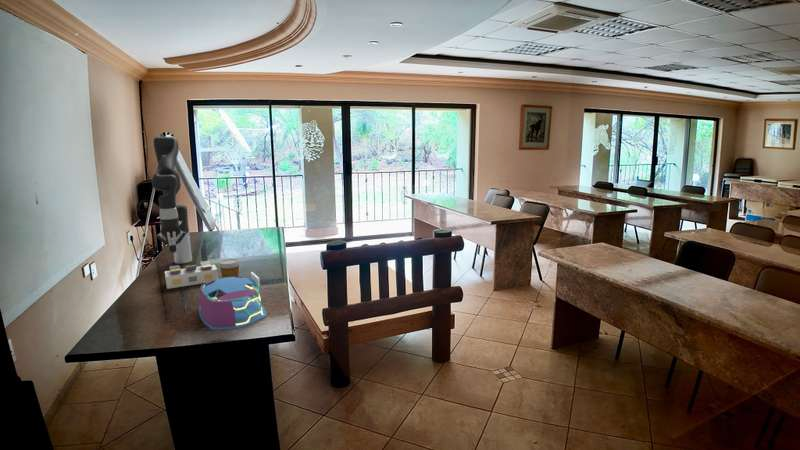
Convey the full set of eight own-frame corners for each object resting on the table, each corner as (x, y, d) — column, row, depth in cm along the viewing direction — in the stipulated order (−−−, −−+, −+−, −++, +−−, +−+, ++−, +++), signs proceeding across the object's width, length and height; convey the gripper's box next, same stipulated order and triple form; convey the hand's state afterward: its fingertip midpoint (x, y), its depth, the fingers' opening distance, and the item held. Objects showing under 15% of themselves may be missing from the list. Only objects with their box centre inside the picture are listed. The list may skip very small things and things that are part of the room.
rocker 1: (169, 268, 216) (169, 266, 215) (179, 267, 218) (179, 264, 218) (170, 274, 209) (170, 271, 209) (181, 272, 211) (180, 270, 211)
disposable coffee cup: (245, 282, 216) (243, 259, 214) (232, 289, 208) (230, 265, 205) (229, 280, 219) (227, 257, 217) (216, 287, 211) (214, 263, 208)
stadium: (193, 305, 188) (190, 274, 186) (250, 294, 202) (247, 264, 199) (210, 335, 160) (206, 299, 157) (274, 320, 173) (272, 286, 170)
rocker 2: (185, 268, 219) (185, 266, 219) (195, 267, 221) (194, 264, 221) (186, 269, 212) (186, 266, 212) (196, 268, 214) (196, 265, 214)
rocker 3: (200, 263, 223) (200, 261, 222) (209, 262, 225) (209, 260, 224) (202, 270, 216) (202, 267, 216) (212, 268, 218) (211, 266, 218)
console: (166, 282, 217) (164, 269, 216) (215, 275, 228) (214, 262, 227) (167, 289, 208) (165, 275, 207) (218, 280, 220) (217, 267, 218)
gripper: (184, 214, 212) (187, 248, 216) (153, 217, 206) (157, 252, 209) (185, 217, 206) (189, 252, 209) (153, 220, 199) (157, 256, 203)
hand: (173, 252), depth 209 cm, fingers closed
